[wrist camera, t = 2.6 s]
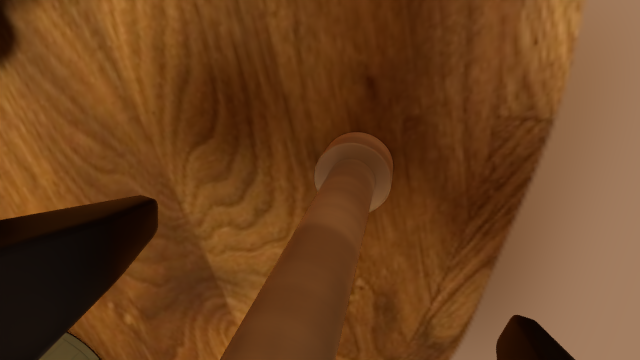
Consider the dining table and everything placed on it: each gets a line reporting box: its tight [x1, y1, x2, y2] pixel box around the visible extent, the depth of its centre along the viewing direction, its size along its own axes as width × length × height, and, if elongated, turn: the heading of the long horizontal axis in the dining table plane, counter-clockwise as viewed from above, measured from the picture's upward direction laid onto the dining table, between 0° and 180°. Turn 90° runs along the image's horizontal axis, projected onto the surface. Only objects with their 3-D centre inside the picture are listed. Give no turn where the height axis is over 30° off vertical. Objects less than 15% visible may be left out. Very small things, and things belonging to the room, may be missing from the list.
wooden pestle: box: [220, 132, 393, 360], centre depth 9 cm, size 3×3×12 cm
